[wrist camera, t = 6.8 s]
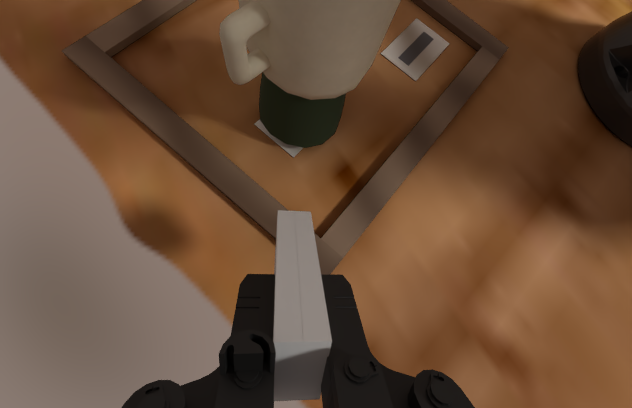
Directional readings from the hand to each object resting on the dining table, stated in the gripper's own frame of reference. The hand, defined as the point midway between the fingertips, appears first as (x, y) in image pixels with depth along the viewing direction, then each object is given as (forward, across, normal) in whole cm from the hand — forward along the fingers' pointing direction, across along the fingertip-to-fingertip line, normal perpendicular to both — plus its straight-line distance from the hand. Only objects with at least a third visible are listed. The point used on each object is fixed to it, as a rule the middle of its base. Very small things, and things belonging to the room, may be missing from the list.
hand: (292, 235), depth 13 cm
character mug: (+12, +1, +3) cm, 13 cm away
